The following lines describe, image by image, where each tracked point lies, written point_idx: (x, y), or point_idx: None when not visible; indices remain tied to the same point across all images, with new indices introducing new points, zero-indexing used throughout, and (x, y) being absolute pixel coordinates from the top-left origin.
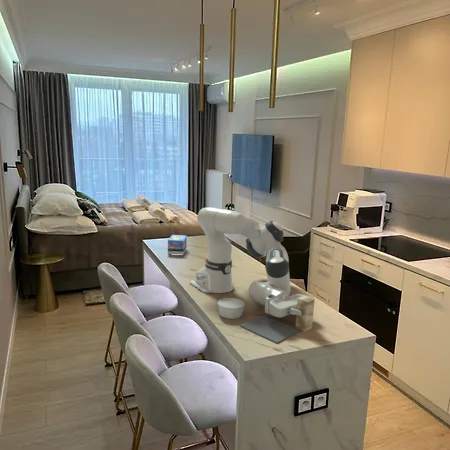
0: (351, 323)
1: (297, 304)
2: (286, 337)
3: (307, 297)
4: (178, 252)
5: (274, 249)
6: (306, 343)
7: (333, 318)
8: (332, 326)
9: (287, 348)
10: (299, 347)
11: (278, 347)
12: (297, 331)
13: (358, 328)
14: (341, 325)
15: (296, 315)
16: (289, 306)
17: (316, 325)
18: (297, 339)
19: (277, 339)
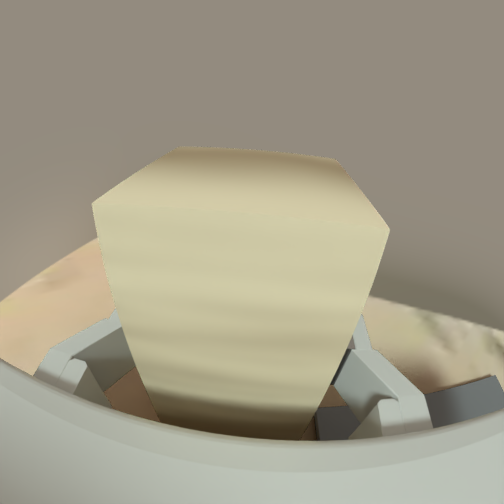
0: (39, 275)
1: (347, 340)
2: (444, 390)
3: (163, 173)
4: None
5: None
6: (376, 323)
7: (7, 333)
8: (97, 316)
9: (467, 338)
10: (422, 321)
11: (493, 357)
12: (339, 409)
13: (75, 253)
14: (69, 293)
15: (300, 434)
16: (450, 425)
17: (131, 381)
18: (392, 364)
19: (487, 393)
